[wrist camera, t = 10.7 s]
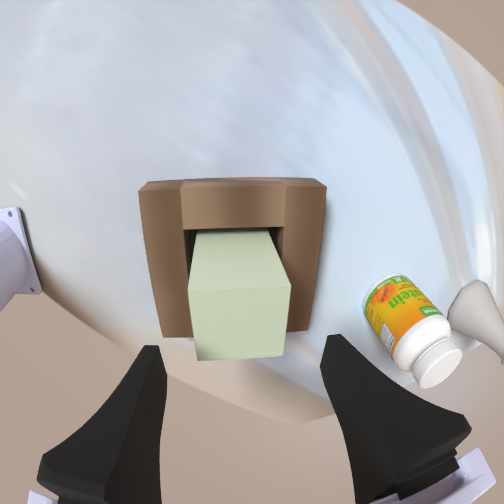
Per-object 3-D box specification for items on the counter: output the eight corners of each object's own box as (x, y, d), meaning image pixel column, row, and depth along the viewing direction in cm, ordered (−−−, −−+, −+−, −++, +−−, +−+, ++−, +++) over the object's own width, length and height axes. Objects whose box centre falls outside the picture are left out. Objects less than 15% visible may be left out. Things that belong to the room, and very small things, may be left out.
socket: (167, 316, 22) (163, 337, 20) (148, 181, 17) (138, 191, 15) (299, 310, 23) (307, 330, 21) (313, 178, 18) (326, 186, 16)
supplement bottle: (411, 264, 23) (477, 330, 14) (407, 309, 25) (458, 376, 17) (361, 281, 23) (419, 362, 14) (361, 326, 25) (405, 404, 17)
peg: (202, 280, 21) (197, 360, 14) (198, 224, 19) (187, 290, 12) (262, 278, 22) (282, 355, 14) (264, 222, 20) (291, 285, 12)
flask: (491, 275, 26) (540, 320, 17) (471, 321, 29) (512, 367, 20) (458, 281, 25) (514, 336, 16) (437, 331, 28) (480, 387, 19)
